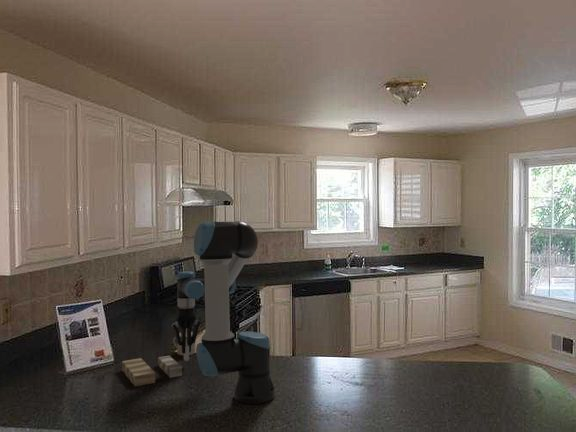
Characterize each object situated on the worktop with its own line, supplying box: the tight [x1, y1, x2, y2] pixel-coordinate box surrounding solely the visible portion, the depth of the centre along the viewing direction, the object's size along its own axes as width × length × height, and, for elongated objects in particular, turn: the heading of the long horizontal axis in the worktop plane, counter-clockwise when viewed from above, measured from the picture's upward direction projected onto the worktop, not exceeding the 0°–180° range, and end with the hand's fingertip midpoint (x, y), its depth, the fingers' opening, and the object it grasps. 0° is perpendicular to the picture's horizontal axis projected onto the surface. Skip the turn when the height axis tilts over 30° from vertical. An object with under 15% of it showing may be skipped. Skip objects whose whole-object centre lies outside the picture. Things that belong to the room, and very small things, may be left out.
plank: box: [157, 355, 183, 379], centre depth 200 cm, size 18×5×4 cm, turn 31°
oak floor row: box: [121, 357, 158, 387], centre depth 193 cm, size 22×9×4 cm, turn 32°
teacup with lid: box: [172, 328, 196, 357], centre depth 225 cm, size 12×9×12 cm
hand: (186, 359), depth 204 cm, fingers closed
